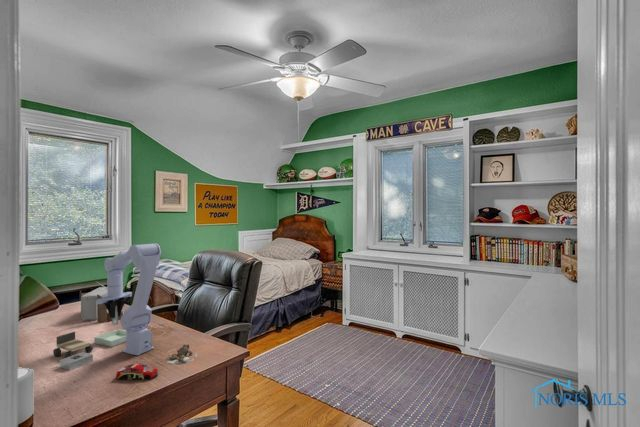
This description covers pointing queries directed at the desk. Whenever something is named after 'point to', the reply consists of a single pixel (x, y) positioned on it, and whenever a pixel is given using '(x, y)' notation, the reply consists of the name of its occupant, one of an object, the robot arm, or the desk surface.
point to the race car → (136, 372)
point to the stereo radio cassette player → (91, 303)
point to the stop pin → (116, 316)
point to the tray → (111, 338)
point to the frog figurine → (181, 356)
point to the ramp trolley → (70, 345)
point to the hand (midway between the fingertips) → (115, 316)
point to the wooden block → (103, 313)
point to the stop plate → (76, 360)
